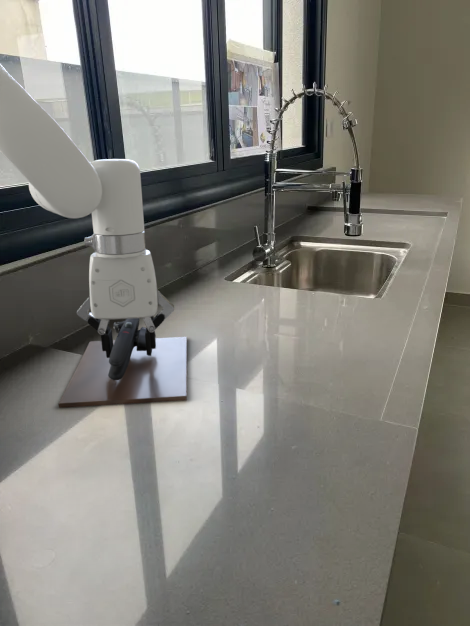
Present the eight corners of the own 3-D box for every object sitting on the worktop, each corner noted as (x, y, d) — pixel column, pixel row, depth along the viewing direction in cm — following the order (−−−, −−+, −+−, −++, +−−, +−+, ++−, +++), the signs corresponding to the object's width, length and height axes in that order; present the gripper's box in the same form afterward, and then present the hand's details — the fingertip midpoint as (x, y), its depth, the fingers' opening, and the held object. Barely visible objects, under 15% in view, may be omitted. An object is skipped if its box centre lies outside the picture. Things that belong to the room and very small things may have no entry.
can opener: (121, 339, 90) (118, 310, 88) (159, 339, 90) (157, 310, 88) (90, 383, 73) (86, 348, 71) (136, 383, 73) (133, 348, 71)
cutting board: (59, 413, 70) (58, 403, 70) (90, 348, 93) (89, 341, 92) (187, 405, 72) (186, 396, 71) (187, 343, 94) (186, 336, 94)
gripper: (56, 250, 71) (71, 365, 77) (176, 246, 73) (182, 360, 78) (68, 241, 78) (81, 347, 84) (177, 238, 80) (183, 342, 85)
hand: (129, 352), depth 81 cm, fingers closed on can opener, 5 cm apart
